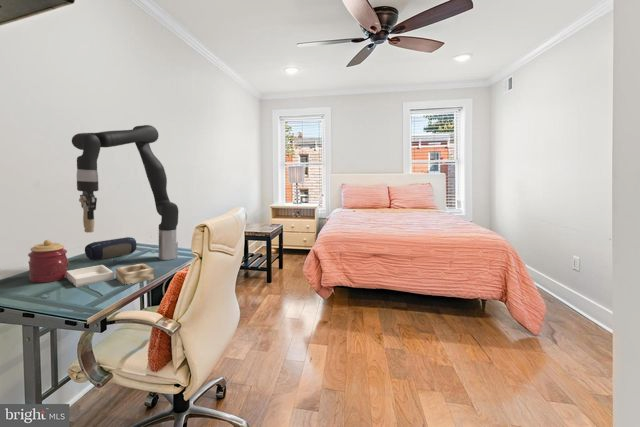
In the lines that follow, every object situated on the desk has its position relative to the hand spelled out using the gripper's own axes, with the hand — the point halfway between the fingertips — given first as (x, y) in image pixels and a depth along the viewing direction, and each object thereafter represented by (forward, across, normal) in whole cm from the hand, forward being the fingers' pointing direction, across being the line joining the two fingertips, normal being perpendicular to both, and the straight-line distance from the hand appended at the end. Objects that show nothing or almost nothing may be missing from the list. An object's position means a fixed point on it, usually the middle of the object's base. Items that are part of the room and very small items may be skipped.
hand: (88, 218), depth 134 cm
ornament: (+29, +25, +6) cm, 39 cm away
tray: (+28, 0, 0) cm, 28 cm away
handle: (+6, 0, 0) cm, 6 cm away
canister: (+29, +12, +12) cm, 33 cm away
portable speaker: (+29, +30, -19) cm, 46 cm away
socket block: (+28, -12, -14) cm, 34 cm away
